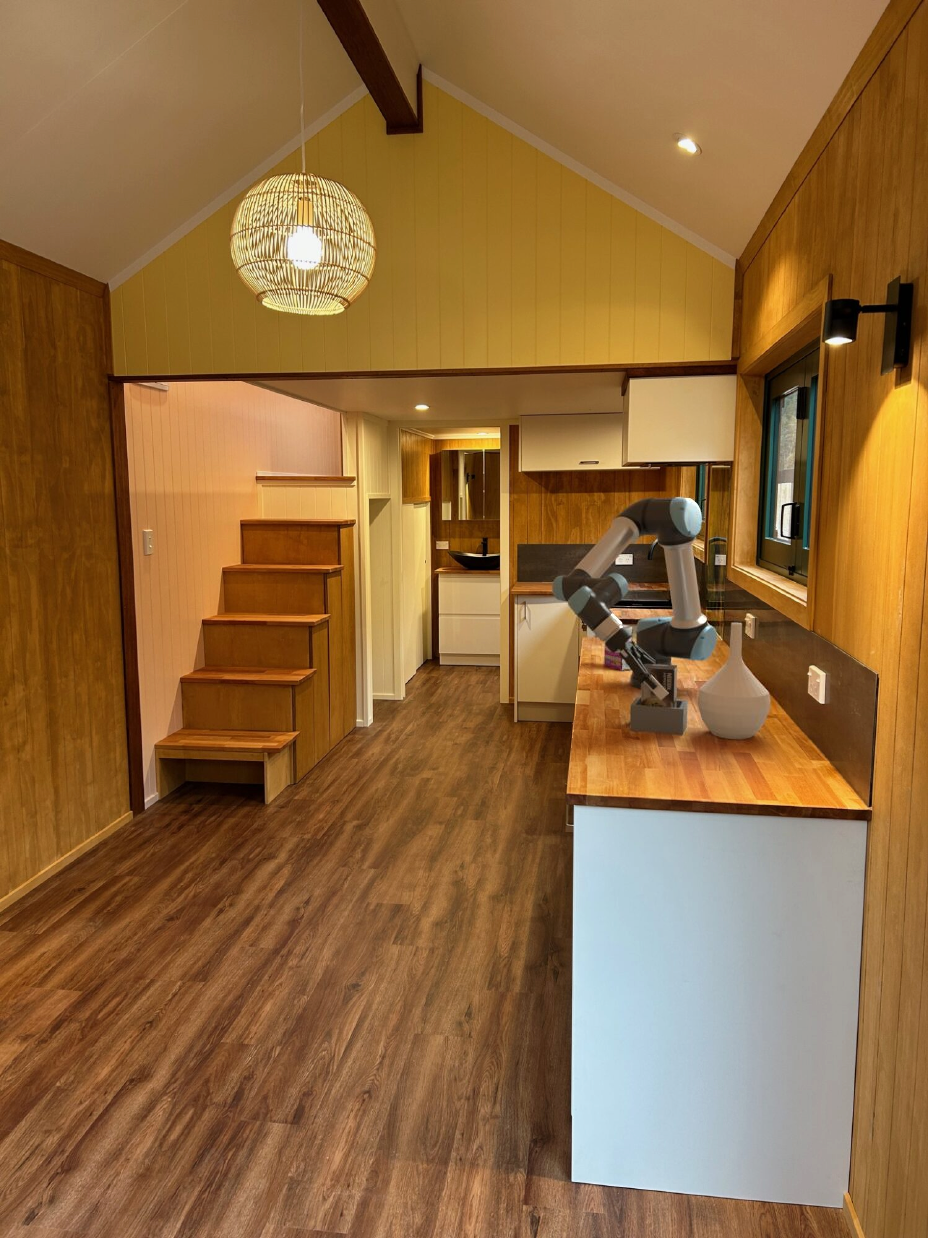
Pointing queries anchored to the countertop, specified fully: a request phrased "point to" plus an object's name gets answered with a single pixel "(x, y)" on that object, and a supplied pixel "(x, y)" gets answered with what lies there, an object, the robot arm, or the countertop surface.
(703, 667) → the countertop surface
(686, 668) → the countertop surface
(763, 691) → the vase
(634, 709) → the rectangular open box
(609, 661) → the candy bar box
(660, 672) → the coffee box
